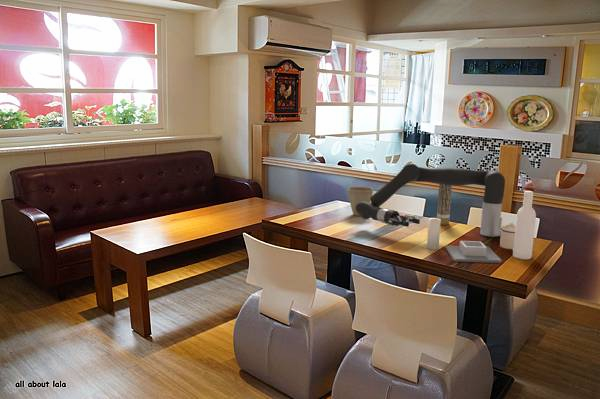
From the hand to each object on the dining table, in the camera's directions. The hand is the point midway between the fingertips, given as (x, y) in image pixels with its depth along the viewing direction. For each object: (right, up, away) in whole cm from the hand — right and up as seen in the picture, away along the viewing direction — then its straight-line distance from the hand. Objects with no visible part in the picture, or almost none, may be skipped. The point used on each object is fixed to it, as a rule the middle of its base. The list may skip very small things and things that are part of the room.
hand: (414, 223), depth 243 cm
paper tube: (+25, -2, +39) cm, 46 cm away
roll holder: (+23, -14, -16) cm, 31 cm away
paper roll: (+7, -11, -6) cm, 15 cm away
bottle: (+45, -14, -18) cm, 50 cm away
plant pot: (-20, +2, +58) cm, 61 cm away
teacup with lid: (+46, -11, -2) cm, 47 cm away
